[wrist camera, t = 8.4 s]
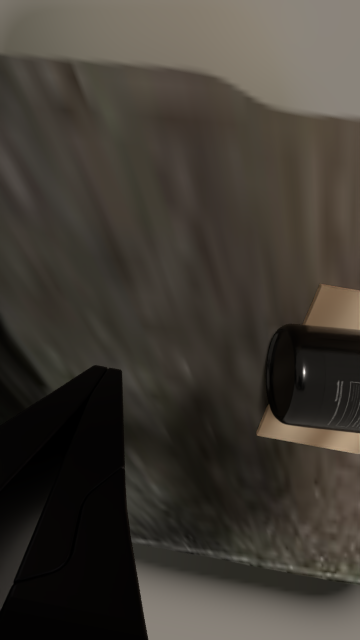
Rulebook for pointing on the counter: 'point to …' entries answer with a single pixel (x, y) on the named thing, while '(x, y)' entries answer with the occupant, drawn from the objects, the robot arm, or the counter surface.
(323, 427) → the supplement bottle
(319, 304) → the cork mat
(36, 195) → the counter surface
